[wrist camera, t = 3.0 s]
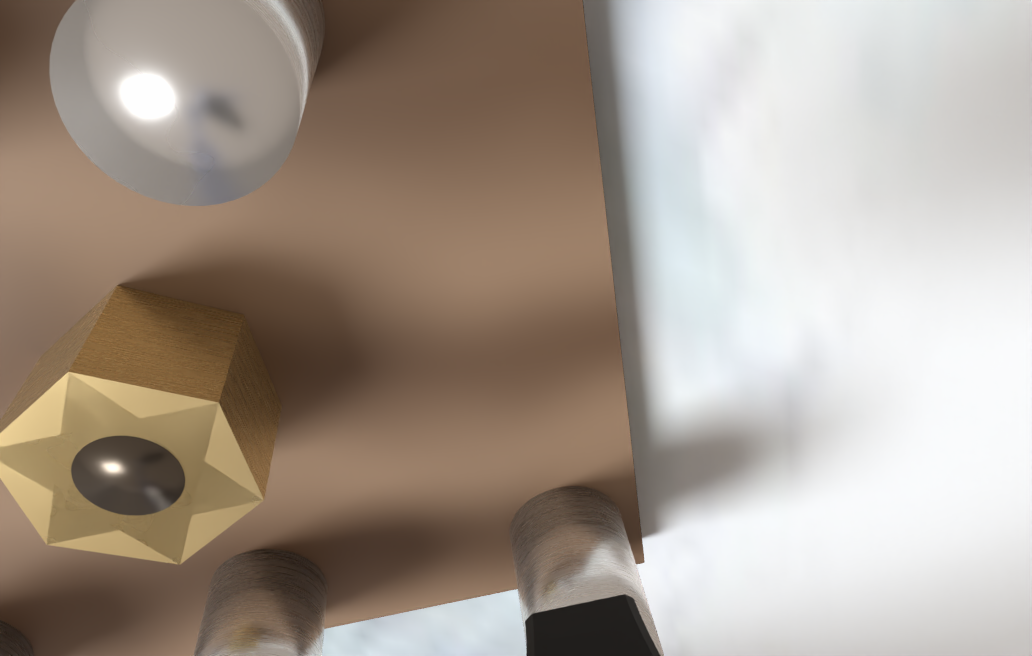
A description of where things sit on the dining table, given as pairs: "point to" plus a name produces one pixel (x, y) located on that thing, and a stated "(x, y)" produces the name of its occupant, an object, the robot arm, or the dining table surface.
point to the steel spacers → (231, 175)
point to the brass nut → (142, 429)
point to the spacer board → (347, 313)
